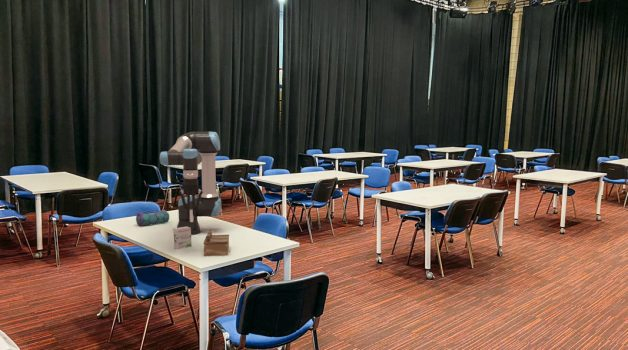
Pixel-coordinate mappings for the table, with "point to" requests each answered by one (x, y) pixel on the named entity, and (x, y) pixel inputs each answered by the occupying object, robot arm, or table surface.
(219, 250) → the oak box
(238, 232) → the table surface
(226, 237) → the lid
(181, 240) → the ink box
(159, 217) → the pencil case
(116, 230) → the table surface
